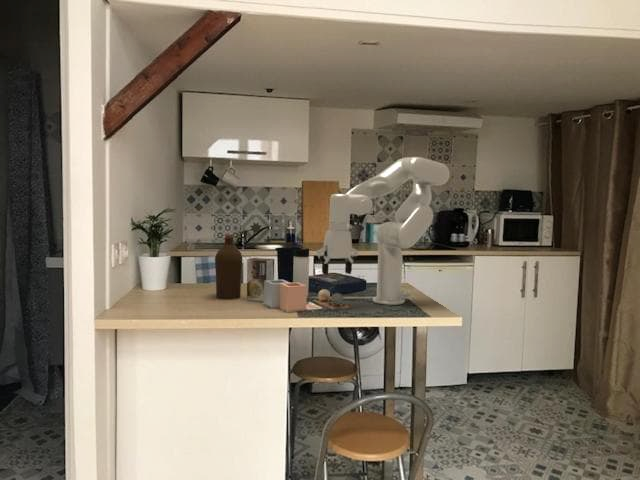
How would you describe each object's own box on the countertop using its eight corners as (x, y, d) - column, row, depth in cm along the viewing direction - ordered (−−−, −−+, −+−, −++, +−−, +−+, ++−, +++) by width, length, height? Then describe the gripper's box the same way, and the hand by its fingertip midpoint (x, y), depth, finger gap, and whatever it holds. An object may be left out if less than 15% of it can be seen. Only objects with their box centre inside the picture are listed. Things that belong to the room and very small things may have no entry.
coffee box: (274, 299, 198) (275, 258, 196) (266, 302, 192) (266, 260, 191) (254, 297, 202) (255, 257, 200) (245, 299, 196) (246, 258, 194)
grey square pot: (282, 302, 192) (282, 279, 191) (290, 306, 186) (290, 282, 185) (263, 304, 189) (264, 280, 188) (271, 308, 182) (271, 283, 181)
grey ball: (339, 303, 190) (339, 291, 190) (345, 306, 186) (345, 293, 186) (328, 304, 188) (328, 292, 188) (334, 307, 184) (334, 294, 184)
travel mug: (302, 299, 199) (303, 249, 198) (289, 297, 203) (290, 247, 201) (311, 297, 204) (313, 248, 202) (299, 295, 208) (300, 246, 206)
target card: (310, 303, 193) (310, 299, 193) (322, 309, 184) (322, 304, 184) (295, 305, 190) (295, 300, 190) (307, 310, 181) (307, 305, 181)
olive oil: (231, 300, 193) (232, 236, 191) (209, 297, 198) (209, 234, 196) (247, 296, 202) (248, 234, 200) (225, 293, 207) (226, 232, 205)
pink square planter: (297, 306, 187) (298, 282, 186) (306, 310, 180) (306, 285, 179) (279, 307, 183) (279, 283, 183) (287, 312, 177) (287, 286, 176)
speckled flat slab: (328, 300, 199) (328, 296, 199) (348, 308, 186) (348, 304, 186) (312, 301, 196) (313, 297, 196) (332, 309, 183) (332, 306, 182)
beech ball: (326, 299, 198) (326, 288, 197) (332, 301, 193) (332, 290, 193) (315, 300, 195) (316, 288, 195) (321, 302, 191) (321, 290, 191)
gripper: (353, 227, 192) (351, 271, 193) (313, 226, 184) (311, 272, 185) (364, 228, 186) (362, 274, 187) (322, 227, 178) (320, 275, 179)
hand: (336, 273), depth 186 cm, fingers open, 9 cm apart
